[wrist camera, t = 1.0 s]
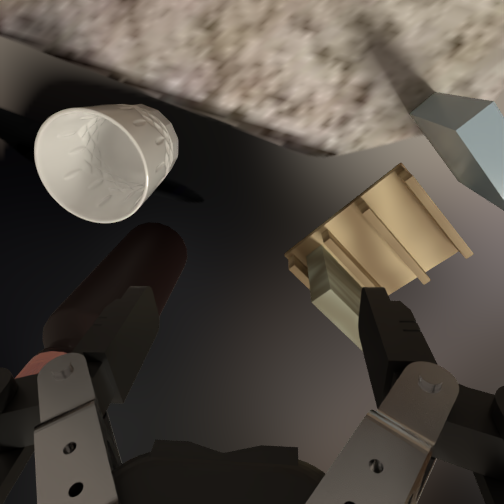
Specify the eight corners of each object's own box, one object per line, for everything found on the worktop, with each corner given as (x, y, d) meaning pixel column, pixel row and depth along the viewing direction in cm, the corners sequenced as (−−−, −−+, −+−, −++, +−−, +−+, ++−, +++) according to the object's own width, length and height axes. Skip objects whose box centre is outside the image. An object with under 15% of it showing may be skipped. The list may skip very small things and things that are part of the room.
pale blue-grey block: (435, 92, 28) (493, 101, 20) (483, 163, 31) (553, 196, 23) (409, 113, 29) (455, 130, 21) (458, 181, 32) (516, 219, 24)
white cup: (97, 167, 34) (31, 201, 25) (108, 82, 30) (35, 88, 21) (174, 194, 34) (137, 238, 26) (194, 115, 31) (158, 134, 22)
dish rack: (400, 162, 31) (438, 192, 24) (463, 243, 34) (514, 293, 27) (284, 253, 36) (284, 301, 29) (348, 316, 40) (363, 374, 32)
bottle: (137, 278, 40) (19, 445, 22) (119, 223, 36) (-36, 368, 19) (194, 273, 39) (119, 445, 21) (180, 218, 36) (78, 364, 18)
